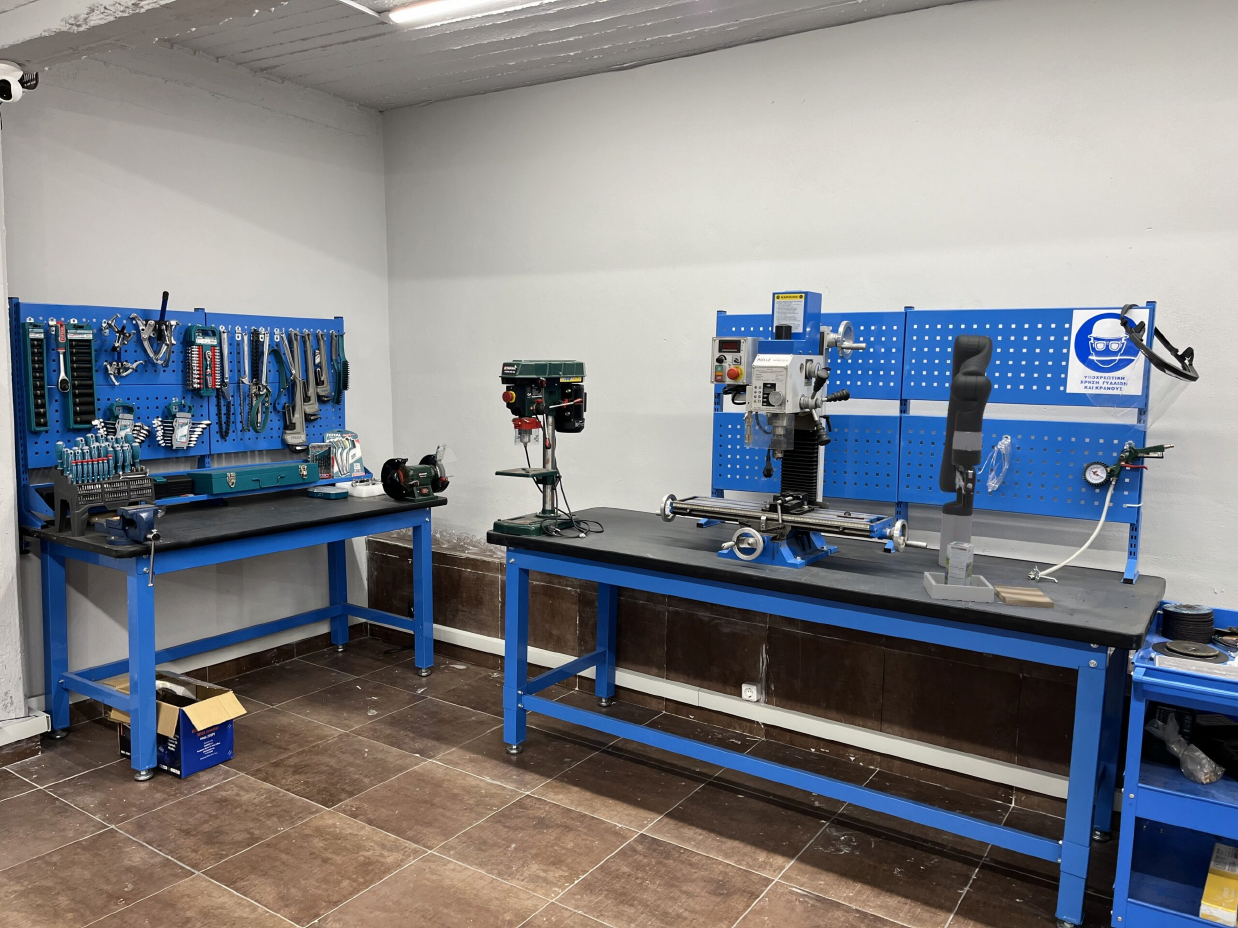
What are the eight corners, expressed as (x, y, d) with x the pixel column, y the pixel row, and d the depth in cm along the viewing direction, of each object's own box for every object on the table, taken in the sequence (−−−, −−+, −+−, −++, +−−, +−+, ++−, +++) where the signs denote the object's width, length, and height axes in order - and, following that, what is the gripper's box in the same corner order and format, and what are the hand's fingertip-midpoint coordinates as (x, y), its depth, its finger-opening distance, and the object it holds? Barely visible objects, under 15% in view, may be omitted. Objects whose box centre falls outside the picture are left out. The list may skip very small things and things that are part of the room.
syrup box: (950, 590, 252) (953, 540, 250) (971, 593, 248) (974, 543, 246) (943, 593, 247) (946, 543, 246) (964, 597, 244) (967, 546, 242)
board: (992, 590, 252) (992, 585, 252) (1036, 593, 250) (1037, 588, 250) (1006, 604, 237) (1006, 599, 237) (1053, 608, 235) (1054, 602, 234)
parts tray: (923, 585, 257) (924, 571, 256) (980, 589, 254) (981, 575, 254) (932, 598, 241) (933, 584, 241) (993, 602, 238) (994, 588, 238)
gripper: (948, 445, 251) (944, 501, 253) (957, 449, 237) (953, 508, 239) (975, 446, 250) (971, 502, 251) (987, 450, 236) (982, 509, 237)
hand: (963, 505), depth 245 cm, fingers open, 8 cm apart
